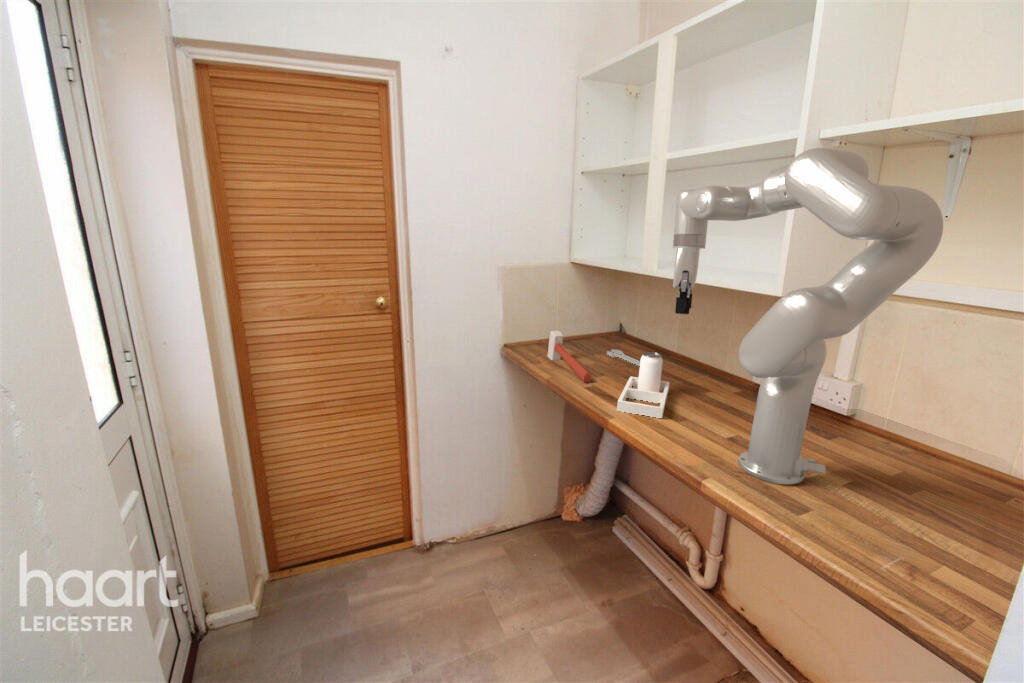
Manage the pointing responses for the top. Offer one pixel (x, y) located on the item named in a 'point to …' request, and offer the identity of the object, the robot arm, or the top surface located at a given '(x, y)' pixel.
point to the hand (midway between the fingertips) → (683, 310)
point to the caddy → (645, 396)
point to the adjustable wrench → (622, 356)
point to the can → (650, 372)
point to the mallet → (565, 356)
